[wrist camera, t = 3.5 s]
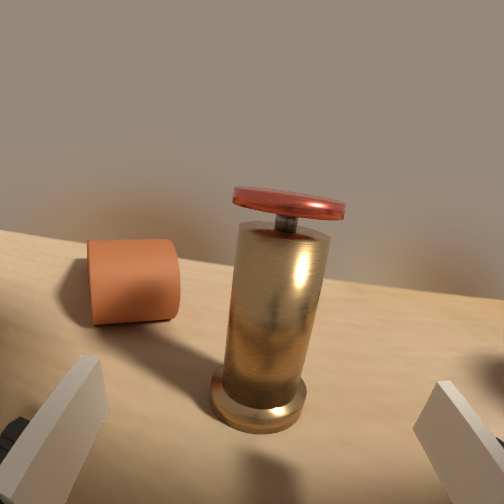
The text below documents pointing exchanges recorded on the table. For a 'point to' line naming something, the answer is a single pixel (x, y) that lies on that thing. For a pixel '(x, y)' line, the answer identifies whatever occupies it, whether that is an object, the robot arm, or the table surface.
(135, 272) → the orange holed part
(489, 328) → the table surface
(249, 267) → the valve
